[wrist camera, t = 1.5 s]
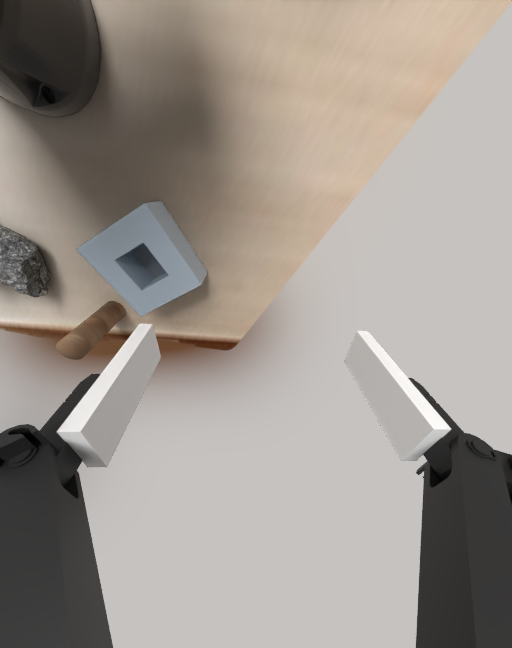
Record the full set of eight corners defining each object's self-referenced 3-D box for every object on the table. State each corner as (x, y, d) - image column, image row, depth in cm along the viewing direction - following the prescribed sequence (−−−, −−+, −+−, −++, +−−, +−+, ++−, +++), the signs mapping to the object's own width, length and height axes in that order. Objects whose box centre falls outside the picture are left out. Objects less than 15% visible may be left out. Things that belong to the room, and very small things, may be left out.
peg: (103, 312, 40) (55, 354, 29) (107, 298, 38) (56, 336, 28) (123, 320, 41) (82, 362, 31) (127, 306, 39) (86, 346, 29)
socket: (154, 300, 38) (140, 316, 33) (102, 240, 32) (75, 249, 27) (207, 271, 36) (201, 284, 31) (161, 200, 30) (144, 202, 25)
